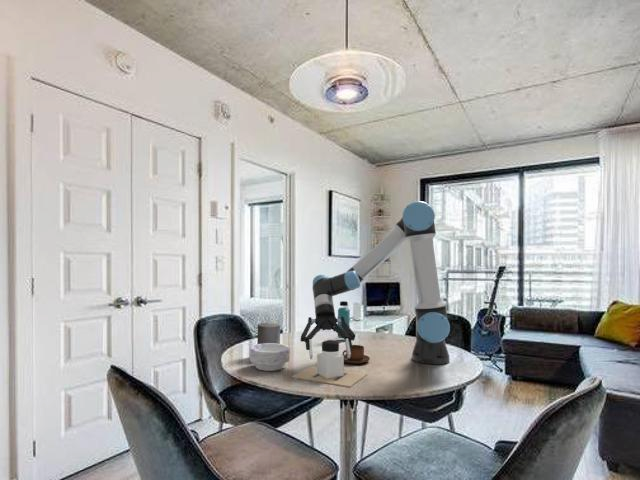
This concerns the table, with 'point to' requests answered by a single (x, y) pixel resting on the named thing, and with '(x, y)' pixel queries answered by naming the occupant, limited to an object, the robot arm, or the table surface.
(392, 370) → the table surface
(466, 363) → the table surface
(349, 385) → the letter card
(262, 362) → the paper bowls
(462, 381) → the table surface
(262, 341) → the pillar candle
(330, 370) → the medicine bottle
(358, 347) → the cup and saucer
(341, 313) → the beverage bottle
